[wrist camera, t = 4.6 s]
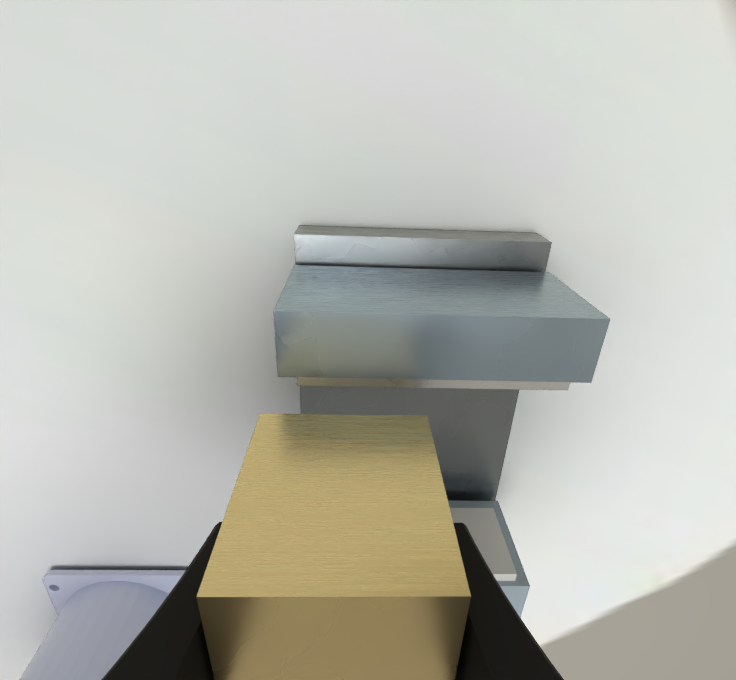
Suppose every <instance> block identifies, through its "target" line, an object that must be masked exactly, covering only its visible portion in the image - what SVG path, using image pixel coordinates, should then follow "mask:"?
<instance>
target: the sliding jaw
mask: <svg viewBox="0 0 736 680" xmlns="http://www.w3.org/2000/svg"><path fill="white" fill-rule="evenodd" d="M448 503H449V507H450V512H451V516H452V520H453V523H464V524H465V525H466V526H467V528H468V530H469V532H470V534H471V536H472V538H473V540H474V542H475V544H476V545H477V547H478V549H479V551H480V553H481V555H482V556H483V558H484V560H485V562H486V563H487V565H488V567H489V568H490V570H491V572H492V574H493V575H494V577H495V579H496V580H497V582H498V584H499V585H500V587H501V589H502V590H503V592H504V593H505V595H506V597H507V598H508V600H509V601H510V603H511V604H512V606H513V607H514V609H515V610H516V612H517V614H518V615H519V617H521V614H522V610H523V607H524V604H525V600H526V597H527V594H528V590H529V587H530V585H529V583H528V580H527V577H526V575H525V572H524V569H523V567H522V564H521V561H520V559H519V556H518V553H517V551H516V548H515V545H514V543H513V540H512V537H511V535H510V532H509V529H508V527H507V524H506V521H505V519H504V516H503V513H502V511H501V508H500V505H499V503H498V501H448Z"/></svg>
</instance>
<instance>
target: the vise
mask: <svg viewBox="0 0 736 680" xmlns="http://www.w3.org/2000/svg"><path fill="white" fill-rule="evenodd" d="M294 242H295V265H294V267H293V269H292V271H291V273H290V276H289V278H288V280H287V282H286V284H285V287H284V289H283V291H282V293H281V296H280V298H279V300H278V302H277V304H276V307H275V309H274V325H275V341H276V357H277V373H278V377H297V385H300V401H301V414H325V415H426V416H427V417H428V421H429V425H430V429H431V433H432V437H433V441H434V445H435V450H436V454H437V458H438V462H439V466H440V470H441V474H442V478H443V483H444V487H445V491H446V495H447V499H448V501H495V498H496V494H497V489H498V485H499V480H500V475H501V471H502V466H503V462H504V457H505V453H506V448H507V444H508V439H509V434H510V430H511V425H512V421H513V416H514V412H515V407H516V403H517V398H518V393H519V389H523V390H568V388H569V384H570V382H584V383H591V381H592V378H593V375H594V371H595V368H596V365H597V361H598V358H599V355H600V351H601V348H602V345H603V341H604V338H605V335H606V331H607V328H608V325H609V322H610V318H608V317H607V316H606V315H604V314H603V313H602V312H600V311H599V310H598V309H596V308H595V307H594V306H592V305H591V304H590V303H589V302H587V301H586V300H585V299H583V298H582V297H581V296H579V295H578V294H577V293H575V292H574V291H573V290H571V289H570V288H569V287H568V286H566V285H565V284H564V283H562V282H561V281H560V280H558V279H557V278H556V277H554V276H553V275H552V274H550V273H549V272H545V270H546V266H547V261H548V257H549V252H550V248H551V243H552V242H550V241H549V240H547V239H545V238H544V237H542V236H540V235H539V234H537V233H523V232H491V231H459V230H427V229H396V228H364V227H332V226H300V225H299V227H298V229H297V230H296V232H295V234H294Z"/></svg>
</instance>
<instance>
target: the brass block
mask: <svg viewBox="0 0 736 680" xmlns="http://www.w3.org/2000/svg"><path fill="white" fill-rule="evenodd" d="M196 598H197V602H198V607H199V611H200V616H201V620H202V625H203V630H204V634H205V639H206V643H207V648H208V652H209V657H210V662H211V666H212V671H213V675H214V680H455V676H456V671H457V666H458V661H459V656H460V650H461V645H462V640H463V635H464V630H465V625H466V620H467V615H468V610H469V604H470V599H471V594H470V590H469V586H468V582H467V578H466V573H465V569H464V565H463V561H462V557H461V553H460V549H459V545H458V540H457V536H456V532H455V528H454V524H453V520H452V516H451V512H450V507H449V503H448V499H447V495H446V491H445V487H444V483H443V478H442V474H441V470H440V466H439V462H438V458H437V454H436V450H435V445H434V441H433V437H432V433H431V429H430V425H429V421H428V417H427V416H426V415H325V414H260V415H259V418H258V421H257V424H256V427H255V430H254V432H253V435H252V438H251V441H250V444H249V447H248V450H247V453H246V455H245V458H244V461H243V464H242V467H241V470H240V473H239V476H238V479H237V481H236V484H235V487H234V490H233V493H232V496H231V499H230V502H229V504H228V507H227V510H226V513H225V516H224V519H223V522H222V525H221V528H220V530H219V533H218V536H217V539H216V542H215V545H214V548H213V551H212V553H211V556H210V559H209V562H208V565H207V568H206V571H205V574H204V577H203V579H202V582H201V585H200V588H199V591H198V594H197V597H196Z"/></svg>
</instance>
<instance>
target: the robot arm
mask: <svg viewBox="0 0 736 680" xmlns="http://www.w3.org/2000/svg"><path fill="white" fill-rule="evenodd" d="M453 524H454V528H455V532H456V536H457V540H458V545H459V549H460V553H461V557H462V561H463V565H464V569H465V573H466V578H467V582H468V586H469V590H470V594H471V599H470V604H469V610H468V615H467V620H466V625H465V630H464V635H463V640H462V645H461V650H460V656H459V661H458V666H457V671H456V676H455V680H564V679H563V678H562V677H561V675H560V674H559V673H558V671H557V670H556V669H555V667H554V666H553V665H552V663H551V662H550V660H549V659H548V658H547V656H546V655H545V653H544V652H543V650H542V649H541V648H540V646H539V645H538V643H537V642H536V640H535V639H534V638H533V636H532V635H531V633H530V632H529V630H528V629H527V627H526V626H525V624H524V623H523V621H522V620H521V618H520V617H519V615H518V614H517V612H516V610H515V609H514V607H513V606H512V604H511V603H510V601H509V600H508V598H507V597H506V595H505V593H504V592H503V590H502V589H501V587H500V585H499V584H498V582H497V580H496V579H495V577H494V575H493V574H492V572H491V570H490V568H489V567H488V565H487V563H486V562H485V560H484V558H483V556H482V555H481V553H480V551H479V549H478V547H477V545H476V544H475V542H474V540H473V538H472V536H471V534H470V532H469V530H468V528H467V526H466V525H465V524H464V523H453ZM221 525H222V522H219V523H218V524H217V525H216V526H215V527H214V529H213V530H212V532H211V533H210V535H209V537H208V538H207V540H206V541H205V543H204V544H203V546H202V547H201V549H200V550H199V552H198V553H197V555H196V556H195V558H194V559H193V561H192V562H191V564H190V565H189V567H188V568H187V569H186V570H50V571H48V572H47V573H46V574H45V576H44V577H43V583H44V585H45V587H46V589H47V592H48V594H49V596H50V599H51V601H52V603H53V605H54V608H55V610H56V612H57V615H58V618H57V619H56V621H55V622H54V624H53V626H52V627H51V629H50V631H49V632H48V634H47V636H46V637H45V639H44V641H43V642H42V644H41V645H40V647H39V649H38V650H37V652H36V654H35V655H34V657H33V659H32V660H31V662H30V663H29V665H28V667H27V668H26V670H25V672H24V673H23V675H22V677H21V678H20V680H214V675H213V671H212V666H211V662H210V657H209V652H208V648H207V643H206V639H205V634H204V630H203V625H202V620H201V616H200V611H199V607H198V602H197V598H196V597H197V594H198V591H199V588H200V585H201V582H202V579H203V577H204V574H205V571H206V568H207V565H208V562H209V559H210V556H211V553H212V551H213V548H214V545H215V542H216V539H217V536H218V533H219V530H220V528H221Z"/></svg>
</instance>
